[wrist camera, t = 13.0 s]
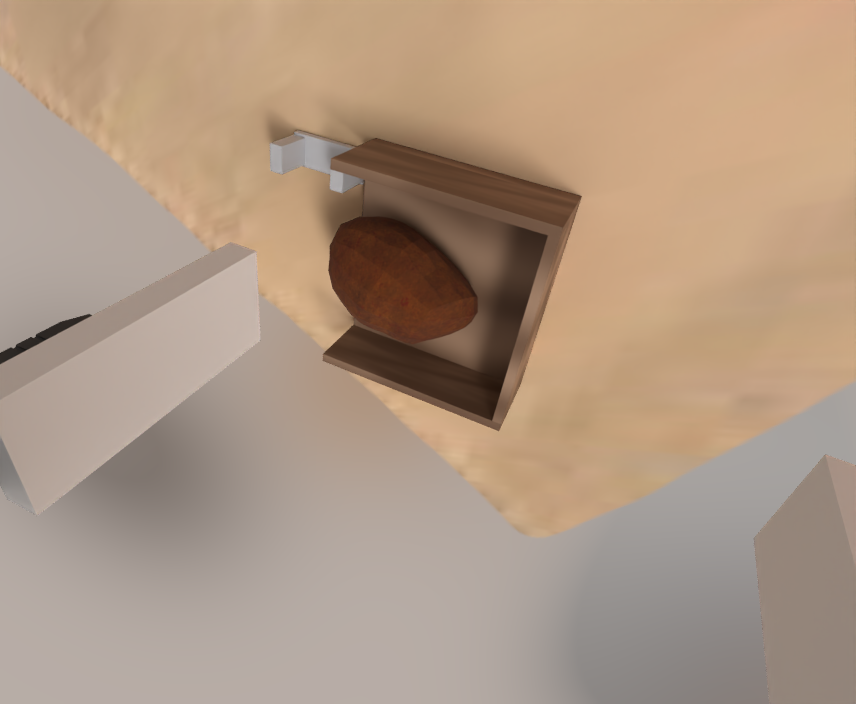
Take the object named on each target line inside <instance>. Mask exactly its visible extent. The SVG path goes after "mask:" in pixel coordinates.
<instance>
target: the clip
mask: <svg viewBox="0 0 856 704" xmlns="http://www.w3.org/2000/svg"><path fill="white" fill-rule="evenodd" d="M353 148H355V146H351V145H348V144H344V143H341V142H337V141H334V140H331V139H327V138H324V137H320V136H317V135H313V134H310V133H306V132H303V131H299V130H298V131H295V132H294V135H291V136H288V137H286V138H283V139H280V140H277V141H274V142H271V143H270V170H271V171H273V172H276V173H279V174H284V173H287V172H289V171H291V170H294V169H296V168H298V167H300V166H303V167H307V168H310V169H313V170H316V171H320V172H323V173H326V174H329V175H330V190H333V191H336V192H340V193H344V192H345V191H347V190H349V189H351V188H353V187H354V186H356V185H358V184H364V183H365V180H364V179H361V178H357V177H354V176H351V175H347V174H344V173H341V172H337V171H334V170H331V169H330V166H331V158H333V157H335V156H337V155H340V154H342V153H344V152H346V151H348V150H351V149H353Z"/></svg>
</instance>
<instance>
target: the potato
mask: <svg viewBox="0 0 856 704" xmlns="http://www.w3.org/2000/svg"><path fill="white" fill-rule="evenodd" d="M328 271H329V275H330V279H331V283H332V287H333V289H334V291H335V293H336V294H337V296H338V297H339V299H340V300H341V302H342V303H343V304H344V306H345V307H346V308H347V310H348V311H349V312H350V314H351V315H352V316H353V317H354V318H355V319H357V320H358V321H359V322H360V323H361V324H363V325H365V326H367V327H369V328H371V329H374V330H377V331H379V332H382V333H385V334H387V335H388V336H390V337H392V338H394V339H397V340H399V341H402V342H405V343H410V344H416V343H420V342H423V341H427V340H432V339H436V338H440V337H443V336H446V335H450V334H453V333H455V332H457V331H459V330H461V329H463V328H465V327H466V326H467V325H469V324H470V323H471V322H472V320H473V319H474V317H475V316H476V314H477V313H478V297H477V295H476V293H475V292H474V290H473V288H472V287H471V285H470V283H469V282H468V280H467V279H466V278H465V277H464V276H463V275H462V273H461V272H460V271H459V270H458V269H457V268H456V267H455V266H454V265H453V264H452V263H451V262H450V261H449V260H448V259H447V257H446V256H445V255H444V254H443V253H442V252H441V251H440V250H439V249H437V248H436V247H435V246H434V245H433V244H431V243H430V242H429V241H428V240H426V239H425V238H424V237H423V236H422V235H420V234H419V233H418V232H417V231H416V230H415V229H413V228H411V227H410V226H408V225H406V224H405V223H403V222H400V221H397V220H395V219H392V218H386V217H380V216H376V217H358V218H356V219H353V220H351V221H348V222H346V223H343V224H341V226H340V227H339V229H338V231H337V233H336V235H335V237H334V239H333V241H332V243H331V245H330V260H329V270H328Z"/></svg>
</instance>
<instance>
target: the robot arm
mask: <svg viewBox="0 0 856 704" xmlns="http://www.w3.org/2000/svg"><path fill="white" fill-rule="evenodd" d="M259 341H260V322H259V300H258V277H257V255H256V251H254V250H251V249H249V248H246V247H243V246H240V245H237V244H235V243H232V242H230V243H228V244H227V245H225V246H223V247H221V248H219V249H217V250H215V251H213V252H211V253H210V254H208V255H206V256H204V257H202V258H200V259H198V260H196V261H195V262H193V263H191V264H189V265H187V266H185V267H183V268H181V269H179V270H177V271H176V272H174V273H172V274H170V275H168V276H166V277H164V278H162V279H160V280H159V281H157V282H155V283H153V284H151V285H149V286H148V287H146V288H143V289H142V290H140V291H138V292H136V293H134V294H132V295H131V296H128V297H126V298H125V299H123V300H121V301H119V302H117V303H115V304H113V305H111V306H109V307H108V308H106V309H104V310H102V311H100V312H98V313H96V314H94V315H90V314H88V315H84V316H80V317H77V318H73V319H70V320H66V321H62V322H60V323H58V324H56V325H54V326H52V327H50V328H48V329H46V330H44V331H42V332H40V333H38V334H36V337H35V338H32V337H30V338H28V339H26V340H25V341H22V342H21V343H19V344H17V345H16V347H15V348H14V349H13V348H9V349H7V350H5V351H3V352H1V353H0V486H1V488H2V490H3V492H4V494H5V496H6V498H7V499H8V500H9V501H11V502H13V503H15V504H17V505H18V506H20V507H22V508H24V509H26V510H27V511H29V512H31V513H33V514H35V515H36V516H37V515H39V514H40V513H42V512H43V511H44V510H45V509H47V508H48V507H49V506H50V505H52V504H53V503H54V502H56V501H57V500H58V499H59V498H60V497H62V496H63V495H64V494H66V493H67V492H68V491H70V490H71V489H72V488H73V487H75V486H76V485H77V484H78V483H80V482H81V481H82V480H84V479H85V478H86V477H87V476H89V475H90V474H91V473H92V472H94V471H95V470H96V469H97V468H99V467H100V466H101V465H103V464H104V463H105V462H106V461H108V460H109V459H110V458H111V457H113V456H114V455H115V454H117V453H118V452H119V451H120V450H122V449H123V448H124V447H125V446H127V445H128V444H129V443H131V442H132V441H133V440H134V439H136V438H137V437H138V436H139V435H141V434H142V433H143V432H144V431H146V430H147V429H148V428H149V427H151V426H152V425H153V424H155V423H156V422H157V421H158V420H160V419H161V418H162V417H164V416H165V415H166V414H167V413H168V412H170V411H171V410H172V409H174V408H175V407H176V406H178V405H179V404H180V403H181V402H183V401H184V400H185V399H186V398H188V397H189V396H190V395H191V394H193V393H194V392H195V391H197V390H198V389H199V388H200V387H201V386H203V385H204V384H205V383H207V382H208V381H209V380H211V379H212V378H213V377H214V376H216V375H217V374H218V373H219V372H221V371H222V370H223V369H225V368H226V367H227V366H228V365H230V364H231V363H232V362H233V361H235V360H236V359H237V358H238V357H240V356H241V355H242V354H243V353H245V352H246V351H247V350H248V349H250V348H251V347H252V346H254V345H255V344H256V343H258V342H259ZM754 545H755V556H756V567H757V576H758V588H759V598H760V609H761V619H762V630H763V639H764V651H765V661H766V672H767V682H768V692H769V703H770V704H856V465H853V464H850V463H848V462H845V461H842V460H839V459H836V458H833V457H831V456H828V455H824V457H823V458H822V459H821V460H820V461H819V462H818V464H817V465H816V466H815V467H814V468H813V470H812V471H811V472H810V473H809V474H808V475H807V477H806V478H805V479H804V480H803V481H802V482H801V484H800V485H799V486H798V487H797V488H796V489H795V491H794V492H793V493H792V494H791V495H790V496H789V498H788V499H787V500H786V501H785V502H784V504H783V505H782V506H781V507H780V508H779V510H778V511H777V512H776V513H775V514H774V515H773V516H772V518H771V519H770V520H769V521H768V522H767V524H766V525H765V526H764V527H763V528H762V529H761V530H760V532H759V533H758V534H757V535H756V536H755V538H754Z"/></svg>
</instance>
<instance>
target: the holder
mask: <svg viewBox="0 0 856 704" xmlns="http://www.w3.org/2000/svg"><path fill="white" fill-rule="evenodd" d="M330 169H331V170H334V171H337V172H341V173H344V174H347V175H351V176H354V177H357V178H361V179H364V180H365V187H364V199H363V212H362V217H376V216H380V217H386V218H392V219H395V220H397V221H400V222H403V223H405V224H406V225H408V226H410V227H411V228H413V229H415V230H416V231H417V232H418V233H419V234H420V235H422V236H423V237H424V238H425V239H426V240H428V241H429V242H430V243H431V244H433V245H434V246H435V247H436V248H437V249H439V250H440V251H441V252H442V253H443V254H444V255H445V256H446V257H447V259H448V260H449V261H450V262H451V263H452V264H453V265H454V266H455V267H456V268H457V269H458V270H459V271H460V272H461V273H462V275H463V276H464V277H465V278H466V279H467V280H468V282H469V283H470V285H471V287H472V288H473V290H474V292H475V293H476V295H477V297H478V313H477V314H476V316H475V317H474V319H473V320H472V322H471V323H470V324H469V325H467V326H466V327H465V328H463V329H461V330H459V331H457V332H455V333H453V334H450V335H446V336H443V337H440V338H436V339H432V340H427V341H423V342H420V343H416V344H410V343H405V342H402V341H399V340H397V339H394V338H392V337H390V336H388V335H387V334H385V333H382V332H379V331H377V330H374V329H371V328H369V327H367V326H365V325H363V324H361V323H360V322H359V321H358V320H357V319H355V318H354V325H353V326H352V327H351V328H350V329H349V330H348V331H347V332H346V333H345V334H343V335H342V336H341V337H340V338H339V339H338V340H337V341H336V342H335V343H334V344H333V345H332V346H331V347H330V348H329V349H328V350H327V351H326V352H325V353H324V354H323V361H325V362H327V363H330V364H332V365H335V366H337V367H340V368H342V369H345V370H347V371H350V372H352V373H355V374H357V375H360V376H362V377H365V378H367V379H370V380H372V381H375V382H377V383H380V384H382V385H385V386H387V387H390V388H392V389H395V390H397V391H400V392H402V393H405V394H407V395H410V396H412V397H415V398H417V399H420V400H422V401H425V402H427V403H430V404H432V405H435V406H437V407H440V408H442V409H445V410H447V411H450V412H452V413H455V414H457V415H460V416H462V417H465V418H467V419H470V420H472V421H475V422H477V423H480V424H482V425H485V426H487V427H490V428H492V429H495V430H497V431H499V430H500V428H501V426H502V423H503V421H504V419H505V417H506V415H507V413H508V410H509V408H510V406H511V404H512V402H513V400H514V397H515V395H516V393H517V391H518V389H519V387H520V384H521V381H522V378H523V375H524V372H525V369H526V366H527V363H528V360H529V357H530V354H531V350H532V347H533V344H534V341H535V338H536V335H537V332H538V329H539V326H540V323H541V320H542V317H543V314H544V311H545V308H546V304H547V301H548V298H549V295H550V292H551V289H552V286H553V283H554V280H555V277H556V274H557V271H558V268H559V265H560V262H561V258H562V255H563V252H564V249H565V246H566V243H567V240H568V237H569V234H570V231H571V228H572V225H573V222H574V219H575V216H576V212H577V209H578V206H579V203H580V200H581V197H582V196H578V195H575V194H571V193H568V192H564V191H561V190H557V189H554V188H550V187H547V186H543V185H540V184H536V183H532V182H529V181H525V180H522V179H518V178H515V177H511V176H508V175H504V174H501V173H497V172H494V171H490V170H486V169H483V168H479V167H476V166H472V165H469V164H465V163H462V162H458V161H455V160H451V159H448V158H444V157H440V156H437V155H433V154H430V153H426V152H423V151H419V150H416V149H412V148H409V147H405V146H401V145H398V144H394V143H391V142H387V141H384V140H380V139H377V138H375V139H373V140H371V141H369V142H366V143H364V144H362V145H360V146H357V147H355V148H353V149H351V150H348V151H346V152H344V153H342V154H340V155H337V156H335V157H333V158H331V166H330Z"/></svg>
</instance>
